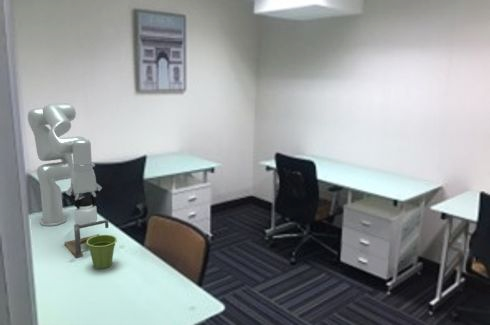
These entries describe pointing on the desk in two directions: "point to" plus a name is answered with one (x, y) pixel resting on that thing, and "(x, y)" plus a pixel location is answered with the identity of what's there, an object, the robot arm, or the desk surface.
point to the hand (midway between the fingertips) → (85, 205)
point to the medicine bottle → (85, 211)
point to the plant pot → (102, 250)
